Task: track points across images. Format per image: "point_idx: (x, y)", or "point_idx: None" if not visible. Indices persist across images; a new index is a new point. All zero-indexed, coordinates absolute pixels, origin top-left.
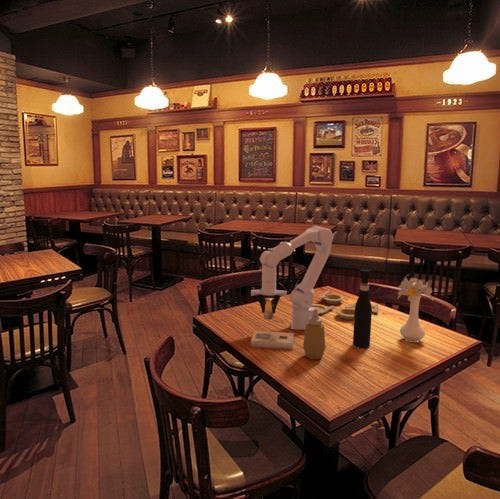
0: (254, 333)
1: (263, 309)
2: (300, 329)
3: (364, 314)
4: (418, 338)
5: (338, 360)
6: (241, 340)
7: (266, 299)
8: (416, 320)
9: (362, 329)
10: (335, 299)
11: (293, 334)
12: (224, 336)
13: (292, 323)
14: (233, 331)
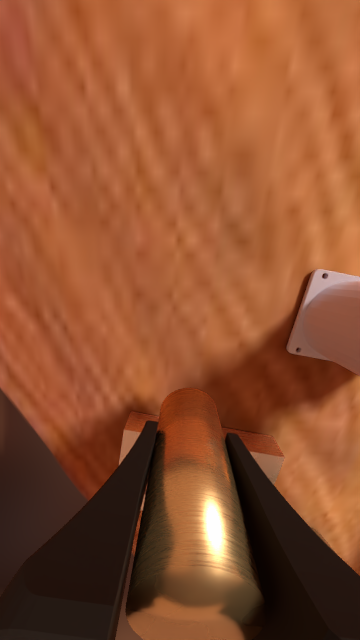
0: (124, 454)
1: (146, 485)
2: (326, 359)
3: None
4: None
5: (355, 559)
6: (86, 438)
7: (161, 618)
8: None
9: None
10: None
11: (278, 468)
12: (20, 404)
13: (310, 329)
14: (45, 360)
